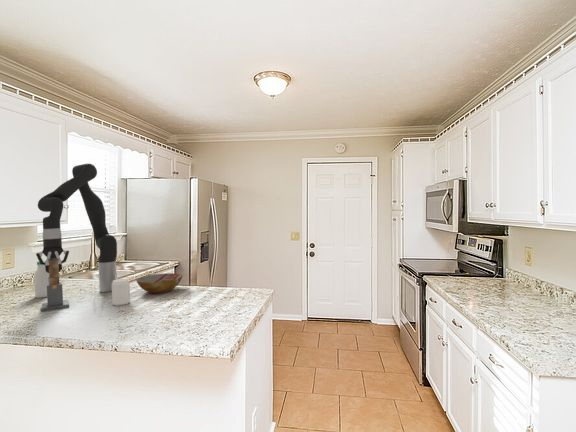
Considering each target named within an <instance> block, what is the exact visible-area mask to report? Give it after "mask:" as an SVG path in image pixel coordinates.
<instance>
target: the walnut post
mask: <svg viewBox="0 0 576 432" xmlns="http://www.w3.org/2000/svg"><path fill="white" fill-rule="evenodd" d="M48 262H49V263H48V265H49V284H50V285H57V284H60V283H59V282H60V272H59V262H58V258H50V259H48Z"/></svg>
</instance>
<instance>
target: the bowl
mask: <svg viewBox="0 0 576 432" xmlns="http://www.w3.org/2000/svg"><path fill="white" fill-rule="evenodd" d="M182 279H183V274H182V273H174V272H173V273H172V272H171V273H170V272H169V273H168V272H167V273H156V274H150V275H149V274H148V275H143V276H141V277H138V278H136V280H135V281H136V283H137V285H138V286H139V287H140V288H141V289H142V290H143V291H146V292H147V293H148V294H152V295H153V294H154V295H157V294H165V293H169V292H171V291H172V290H173V289H175V288H177V286H178V285H179V284H180V282H181V281H182Z"/></svg>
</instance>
